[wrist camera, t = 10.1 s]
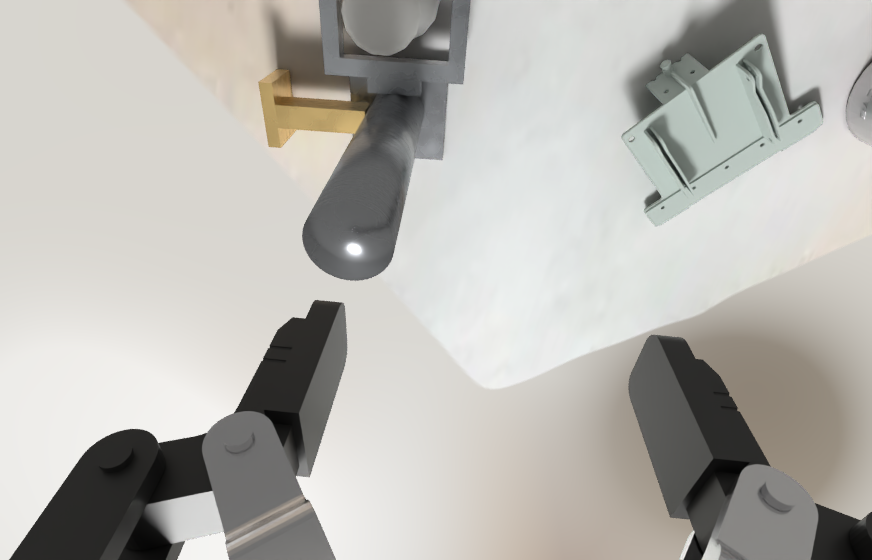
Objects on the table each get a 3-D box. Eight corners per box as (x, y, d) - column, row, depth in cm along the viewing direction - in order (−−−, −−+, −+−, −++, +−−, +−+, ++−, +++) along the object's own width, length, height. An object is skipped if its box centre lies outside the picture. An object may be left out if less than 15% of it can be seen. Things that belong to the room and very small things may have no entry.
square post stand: (476, -91, 32) (494, -130, 14) (455, 157, 42) (450, 314, 24) (253, -106, 32) (-12, -165, 14) (287, 145, 42) (161, 293, 25)
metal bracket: (602, 159, 36) (810, 9, 30) (577, 121, 40) (756, -19, 33) (668, 245, 45) (839, 143, 38) (642, 207, 49) (793, 109, 42)
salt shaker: (384, 47, 37) (354, 90, 27) (350, -32, 34) (301, -20, 24) (452, 16, 36) (448, 48, 25) (423, -70, 32) (405, -75, 22)
